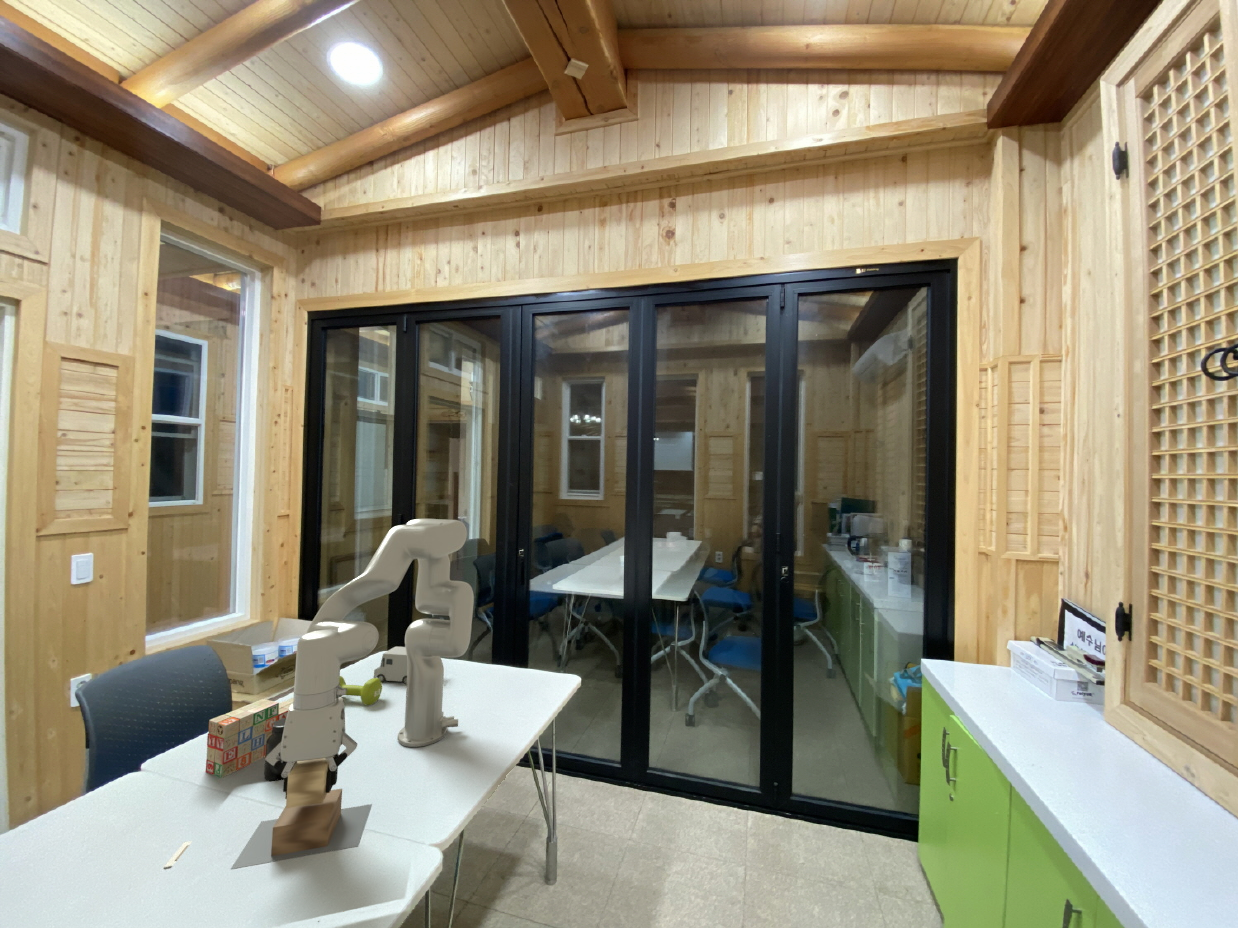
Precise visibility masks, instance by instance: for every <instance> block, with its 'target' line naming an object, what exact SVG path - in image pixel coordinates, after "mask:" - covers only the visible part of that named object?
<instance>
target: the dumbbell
mask: <svg viewBox="0 0 1238 928" xmlns="http://www.w3.org/2000/svg"><path fill="white" fill-rule="evenodd" d="M339 683H340V686H341V688H342V687H343V688H347V693H346V695H345V696H349V697H350V696H354V697H360V700H361V702H362V704H363V705H365V706H372V705H374V704H375V703H376V702H378V700H379V699H380V697H381V694H382V691H383V684H382V682H381V681H380V679H379V678H370V679H368V680H367V681H366V682H365V683H364V684H363V685H358V684H346V680H345V678H344V677H343V676H342V675H340V679H339ZM340 697H342V698H343V695H342V696H340Z"/></svg>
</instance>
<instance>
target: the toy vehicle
mask: <svg viewBox="0 0 1238 928" xmlns="http://www.w3.org/2000/svg"><path fill="white" fill-rule="evenodd" d="M373 678H379V679H380V681H381V683H384V682H385V681H387V682H388V681H389V682H402V683H403V684H405V685H407V653H406V647H405V646H394V647H392V648H390V649H388V650H386V651H385V652H383V654H382V657H381V661H380V666H378V667H377V668H375V669H374V670H373Z"/></svg>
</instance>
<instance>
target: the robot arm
mask: <svg viewBox="0 0 1238 928" xmlns="http://www.w3.org/2000/svg"><path fill="white" fill-rule="evenodd" d="M467 537H468V531H467V527H466V526H465V524H464V522H462V521H461V520H457V519H444V518H443V519H440V518H439V519H438V518H437V519H436V518H416V519H411V520H408V522H406V523H405V524H399V525H395V526H393V527H392V528H391V529H389V531H387V533H386V535H385V536H384V538H383V540H382V541H381V543H380V544H379V547H377V548H376V549H377V550H376V551H375V553H374V554H373V556H372V557H371V560H370V561H369V563H368V564H367V566H366V568H365V569H364V571H363V572H362V573H361V574H360V575H359V576H357V577H356V578H354V579H352V580H350V581H349V582H348V583H346V584H345V585H344V586H342V587H341V588H340V589H338V590H336V591H335V592H334V593H332V594H331V596H328V598H327V599H326V600H325V601H324V602H323V603H322V605H321V607H320V608H319V610H318V611H317V612H316V615H315V616H314V618H313V619H312V621H311V623H310V624H309V626H308V628H307V631H306V633H305V634H303V635H302V636H301V637H299V639H298V641H297V644H296V658H295V673H294V685H293V697H292V698H293V704H291V706H290V707H289V710H288V714H287V717H286V721H285V726H284V731H283V736H282V741H281V742H280V743H279V744H278V745H277V746H276V747H275V748H274V749H273V750H272V751H271V752H270V753H269V754H268V755H267V757H266V758H265V757H264V760H265V759H266V761H267V762H269V763H270V764H271V765H273V766H274V768H275V769H276V770H278V771H279V772H280V773H281V776H282V777H283V778H284V780H283V789H282V792H283V793H285V797H284V798H285V800H286V799H287V784H288V775H289V773H290V772H291V770H292V768H293V767H294V765H295V763H296V761H304V760H312V759H320V758H325V759H326V761H327V764H328V766H329V770H328V772H327V777H326V793H330V791H331V790H333V786H335V785H336V784H337V781H338V772H339V771H338V770H339V766H340V765H342V763H344V761H345V760H346V759H347V758H348V757H349V756H350V755H352V754H353V753H354V751H356V749H357V747H358V742H357V741H356V740H354V738H352V737H351V736H350V735H348V733H346V712H345V710H346V709H345V703H344V697H343V696H347V695H346V693H347V688H343V687H342V688H341V686H340V683H339V679H340V676H341V675H340V674H341V665H343V664H345V663H350V662H352V661H356V660H360V659H363V658H365V657H366V656H368V655H369V654H370V653H372V652H373V650H374V649H375V648H376V646H377V645H378V643H379V637H380V634H379V631H378V628H377V627H376V626H375V625H374V624H372V623H370V622H367V621H359V620H358V621H357V620H350V619H349V620H348V619H345V617H346V616H348V614H349V613H350V612H352V611H353V610H354V609H356V608H357V607H359V606H360V605H363V604H364V603H367V602H370V601H371V600H375V599H378V598H380V597H383V596H386V595H388V594H391V593H392V592H395V591H396V590H397V589H398V588H399V586H400V585H401V583H402V581H403V579H404V577H405V575H406V573H407V571H408V569H409V567H410V565H412V564H411V563H412V562H413V561H414V560H416V559H417V563H418V568H417V569H418V570H417V580H416V589H415V590H416V591H415V609H416V610H417V611H418V612H420V613H421V614H426V615H434V616H435V615H436V616H449V619H440V618H420V619H417V620H414V621H413V622H411V623H410V624H409V626H408V627H407V629H406V631H405V635H404V647H406V653H407V684H406V690H405V692H406V693H405V713H404V726H403V727H402V728H401V729H400V730H399V731H398V733H397V741H398V743H399V744H400V745H402V746H405V747H410V748H418V747H419V748H420V747H425V746H429V745H432V744H435V743H437V742H439V741H440V740H442V739H443V738H444V737H445V736H446V734H447V733H448V728H457V727H459V718H455V715H454V716H453V715H451V716H444V715H445V714H444V711H443V697H444V676H445V675H444V674H445V668H444V664H443V660H442V658H441V657H444V658H460V657H461V656H464V655H465V653H466V652H467V650H468V648H469V645H470V643H471V634H472V624H473V612H474V605H475V604H474V603H475V602H474V600H475V595H474V591H473V587H472V586H471V584H469V582H466V581H462V580H451V579H450V578H451V577H450V575H451V561H450V560H451V559H450V557H449V555H450V554H453V553H455V552H457V551H459V550H461V549H462V548H463V546H464V545H465V543H466V542H467V541H466V540H467ZM340 696H342V697H340ZM342 745H343V746H344V747H345V749H344V750H343V751H342V752H340V750H341V746H342ZM339 752H340V753H339ZM279 753H280V756H279Z"/></svg>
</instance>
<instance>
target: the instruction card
mask: <svg viewBox="0 0 1238 928" xmlns="http://www.w3.org/2000/svg"><path fill="white" fill-rule="evenodd" d="M192 843H193V840H189V841H184V842H183V843H182V845H180V846H179V848H178V849H177V850H176V851H175V852H174V854H173V855H172V856H171V857H170V859H169V860H168V861H167V863H166V864H165V865H164V866H163V869H167V868H172V867H174V865H175V864H176V862H177V861H178V860H179V859H180V857H181V856H182V855H183V854H184V852H185V851H186V850H187V849H188V848H189V846H190V845H191V844H192Z"/></svg>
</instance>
